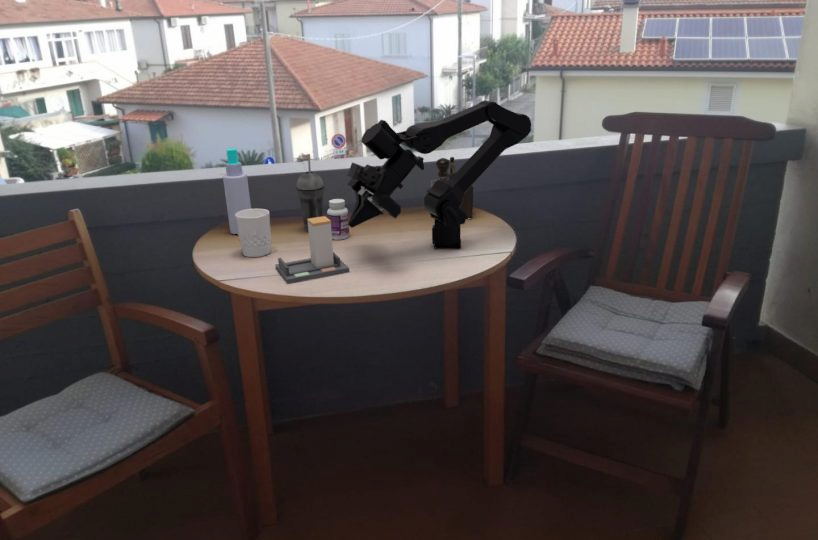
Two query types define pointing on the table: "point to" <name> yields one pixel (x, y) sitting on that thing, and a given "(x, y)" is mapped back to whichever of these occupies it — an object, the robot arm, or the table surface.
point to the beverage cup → (310, 195)
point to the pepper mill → (443, 167)
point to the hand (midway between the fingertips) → (349, 226)
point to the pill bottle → (338, 219)
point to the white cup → (254, 232)
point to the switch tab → (320, 241)
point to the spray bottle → (235, 189)
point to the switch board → (309, 269)
